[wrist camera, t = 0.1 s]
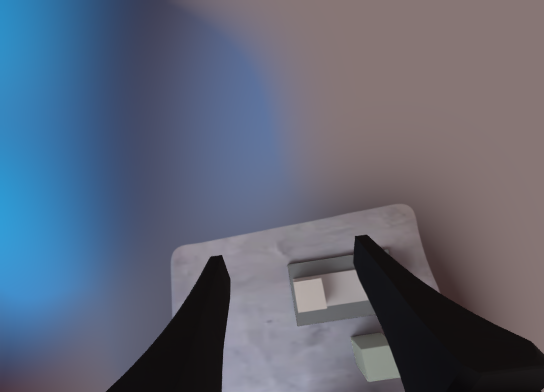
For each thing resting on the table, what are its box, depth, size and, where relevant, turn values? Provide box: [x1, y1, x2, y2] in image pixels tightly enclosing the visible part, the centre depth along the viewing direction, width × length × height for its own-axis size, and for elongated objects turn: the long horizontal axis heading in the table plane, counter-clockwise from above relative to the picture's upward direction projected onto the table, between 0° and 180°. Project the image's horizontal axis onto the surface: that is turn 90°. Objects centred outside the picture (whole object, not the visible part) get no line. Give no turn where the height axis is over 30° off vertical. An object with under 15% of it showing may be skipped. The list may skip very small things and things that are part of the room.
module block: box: [351, 333, 400, 382], centre depth 36 cm, size 4×5×6 cm
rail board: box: [288, 249, 389, 326], centre depth 40 cm, size 10×18×5 cm, turn 98°
